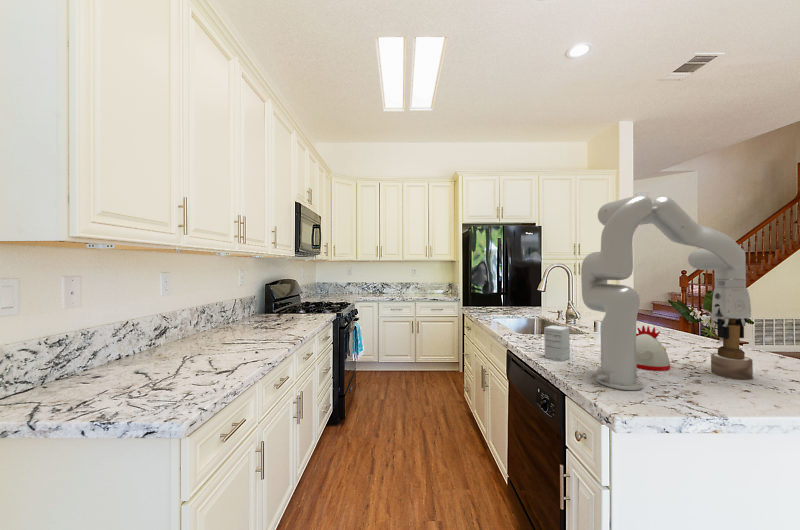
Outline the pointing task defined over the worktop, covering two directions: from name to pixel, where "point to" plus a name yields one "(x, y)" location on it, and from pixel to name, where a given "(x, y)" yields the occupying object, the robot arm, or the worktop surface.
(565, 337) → the supplement box
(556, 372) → the worktop surface
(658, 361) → the kitchen timer
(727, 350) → the brown wooden turned piece
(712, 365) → the display pedestal
